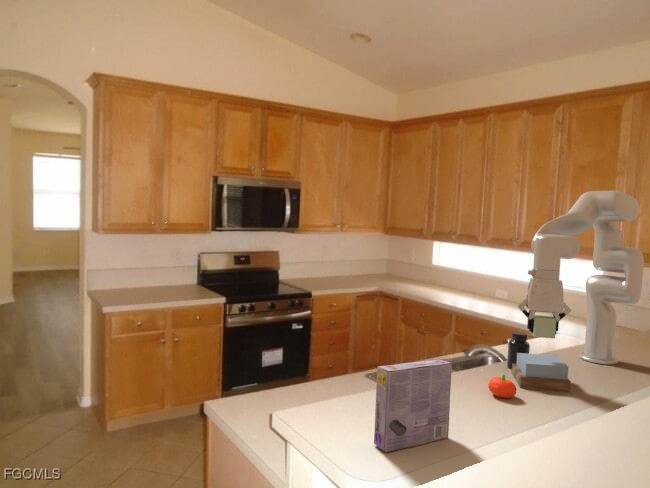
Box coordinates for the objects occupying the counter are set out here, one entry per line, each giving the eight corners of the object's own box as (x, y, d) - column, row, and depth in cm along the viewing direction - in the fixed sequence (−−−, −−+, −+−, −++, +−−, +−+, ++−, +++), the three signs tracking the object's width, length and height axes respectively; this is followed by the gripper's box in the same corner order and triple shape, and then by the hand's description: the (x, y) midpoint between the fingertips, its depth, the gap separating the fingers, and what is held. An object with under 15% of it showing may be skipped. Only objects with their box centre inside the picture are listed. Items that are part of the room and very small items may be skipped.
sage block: (529, 332, 155) (531, 313, 155) (550, 334, 154) (551, 315, 154) (534, 336, 149) (535, 317, 149) (555, 338, 148) (556, 319, 148)
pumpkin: (499, 391, 145) (502, 370, 145) (519, 401, 137) (523, 378, 137) (480, 391, 142) (483, 369, 142) (500, 401, 134) (504, 378, 134)
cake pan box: (438, 429, 116) (442, 356, 115) (453, 437, 112) (457, 362, 111) (371, 444, 107) (374, 365, 106) (384, 454, 103) (388, 372, 102)
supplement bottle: (525, 372, 162) (527, 337, 162) (504, 368, 166) (506, 333, 166) (530, 367, 168) (532, 333, 167) (510, 363, 172) (512, 330, 171)
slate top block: (516, 364, 159) (517, 352, 159) (555, 367, 157) (556, 355, 157) (525, 376, 147) (526, 363, 147) (567, 379, 146) (568, 366, 145)
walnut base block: (511, 375, 161) (512, 363, 161) (556, 379, 158) (557, 367, 158) (520, 389, 147) (520, 377, 147) (569, 394, 144) (570, 381, 144)
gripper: (518, 274, 149) (515, 332, 150) (579, 278, 145) (575, 337, 146) (514, 272, 156) (511, 327, 157) (572, 275, 153) (568, 332, 154)
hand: (542, 331), depth 152 cm, fingers closed on sage block, 6 cm apart
